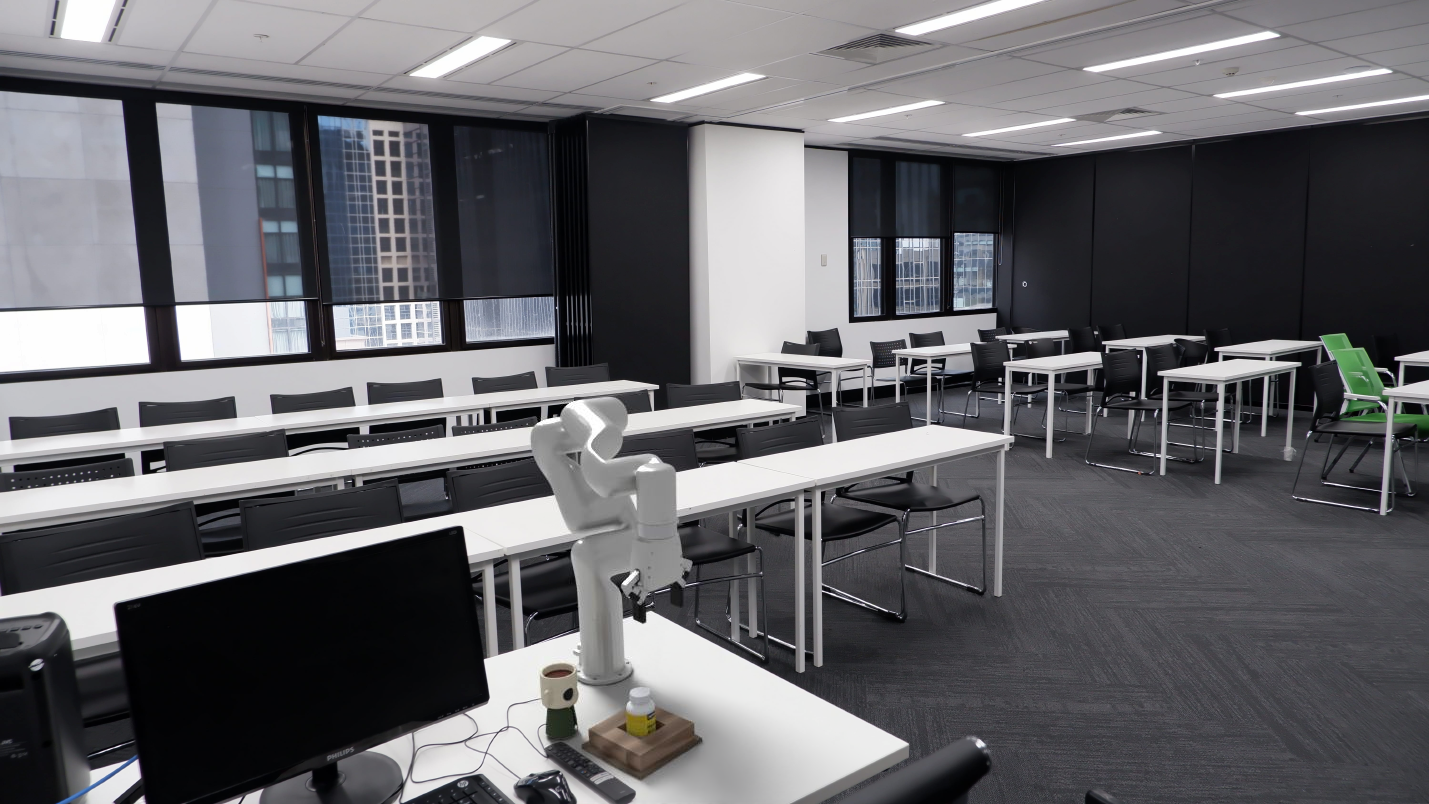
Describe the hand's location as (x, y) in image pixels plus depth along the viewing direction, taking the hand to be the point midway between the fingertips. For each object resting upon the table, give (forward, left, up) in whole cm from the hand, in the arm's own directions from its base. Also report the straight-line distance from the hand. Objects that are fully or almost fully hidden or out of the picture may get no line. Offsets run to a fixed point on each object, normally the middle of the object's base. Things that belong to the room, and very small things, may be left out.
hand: (658, 613), depth 165 cm
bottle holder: (+3, -8, -23) cm, 24 cm away
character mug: (-12, -15, -23) cm, 30 cm away
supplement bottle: (+3, -8, -22) cm, 24 cm away
